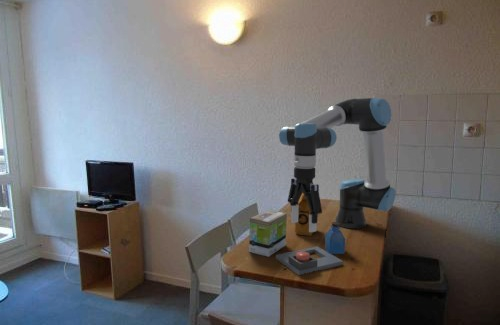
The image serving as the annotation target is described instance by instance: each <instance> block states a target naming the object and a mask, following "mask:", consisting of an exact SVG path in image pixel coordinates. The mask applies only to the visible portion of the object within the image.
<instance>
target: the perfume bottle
mask: <svg viewBox="0 0 500 325" xmlns="http://www.w3.org/2000/svg"><path fill="white" fill-rule="evenodd" d="M339 224H340V223H338V222H336V221H332V222H331V225H330V228H331V229H328V230H327V232H326V233H325V237H324V238H325V243H324V248H325V249H326V250H325V251H326V252H328V253H330V254H332V255H337V254H339V255H341V254H342V255H343V254H345V252H346V251H345V248H346V238H345V236H344V234H343V232H342V231H341V230H340V229H341V228H340V227H341V226H339Z"/></svg>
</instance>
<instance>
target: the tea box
mask: <svg viewBox="0 0 500 325" xmlns="http://www.w3.org/2000/svg"><path fill="white" fill-rule="evenodd" d="M287 216H288V215H287V213H285V212H281V211H274V210H269V209H267V210H265V211H262V212H260V213H258V214H256V215H254V216H251V217H250V218H249V236H248V237H249V240H248V241H249V244H248V252H250V253H251V254H252V253H253V254H256V255H260V256H265V257H268V258H269V257H271V256H272V255H273V254H275V253H276V252H277V251H279V250H281V249H283V248H284V247H285V246H286V243H287Z"/></svg>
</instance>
